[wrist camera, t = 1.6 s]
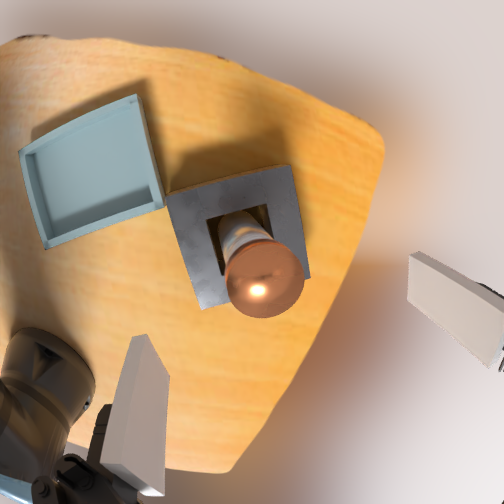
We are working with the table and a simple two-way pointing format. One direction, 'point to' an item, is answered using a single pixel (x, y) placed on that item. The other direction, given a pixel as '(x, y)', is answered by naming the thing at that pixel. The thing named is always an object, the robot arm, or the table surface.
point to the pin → (258, 267)
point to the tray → (92, 172)
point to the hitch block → (226, 201)
